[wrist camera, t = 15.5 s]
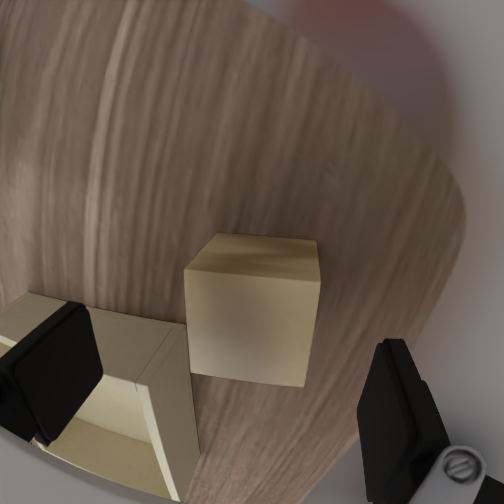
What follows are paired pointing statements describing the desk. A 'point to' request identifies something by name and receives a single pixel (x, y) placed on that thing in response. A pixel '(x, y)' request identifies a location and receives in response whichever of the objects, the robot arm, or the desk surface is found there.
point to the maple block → (252, 308)
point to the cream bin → (125, 399)
